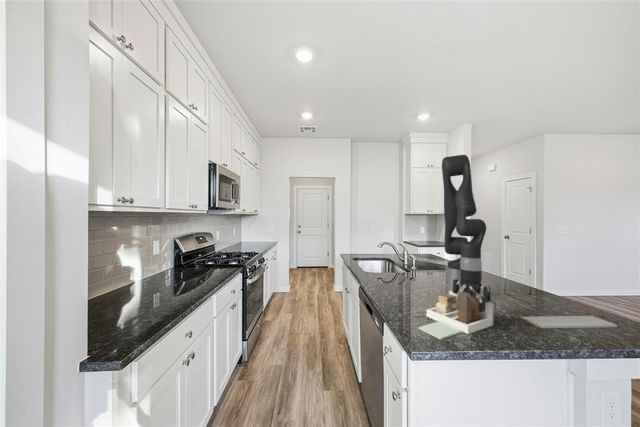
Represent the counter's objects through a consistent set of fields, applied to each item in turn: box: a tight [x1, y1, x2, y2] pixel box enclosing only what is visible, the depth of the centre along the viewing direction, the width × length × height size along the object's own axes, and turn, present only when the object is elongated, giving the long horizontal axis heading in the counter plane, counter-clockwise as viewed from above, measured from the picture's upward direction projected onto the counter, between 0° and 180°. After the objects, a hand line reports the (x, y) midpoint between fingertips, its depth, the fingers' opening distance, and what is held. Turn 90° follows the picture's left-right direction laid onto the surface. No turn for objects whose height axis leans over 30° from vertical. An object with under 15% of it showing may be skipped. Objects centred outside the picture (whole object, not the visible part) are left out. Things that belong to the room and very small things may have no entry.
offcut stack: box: [435, 293, 458, 314], centre depth 115 cm, size 9×5×9 cm, turn 118°
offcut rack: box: [425, 291, 494, 335], centre depth 110 cm, size 16×19×9 cm
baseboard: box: [520, 314, 618, 329], centre depth 109 cm, size 31×3×12 cm
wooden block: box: [458, 292, 481, 324], centre depth 105 cm, size 4×11×18 cm, turn 121°
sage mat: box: [418, 321, 463, 340], centre depth 101 cm, size 12×10×1 cm
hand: (470, 308), depth 105 cm, fingers open, 8 cm apart
